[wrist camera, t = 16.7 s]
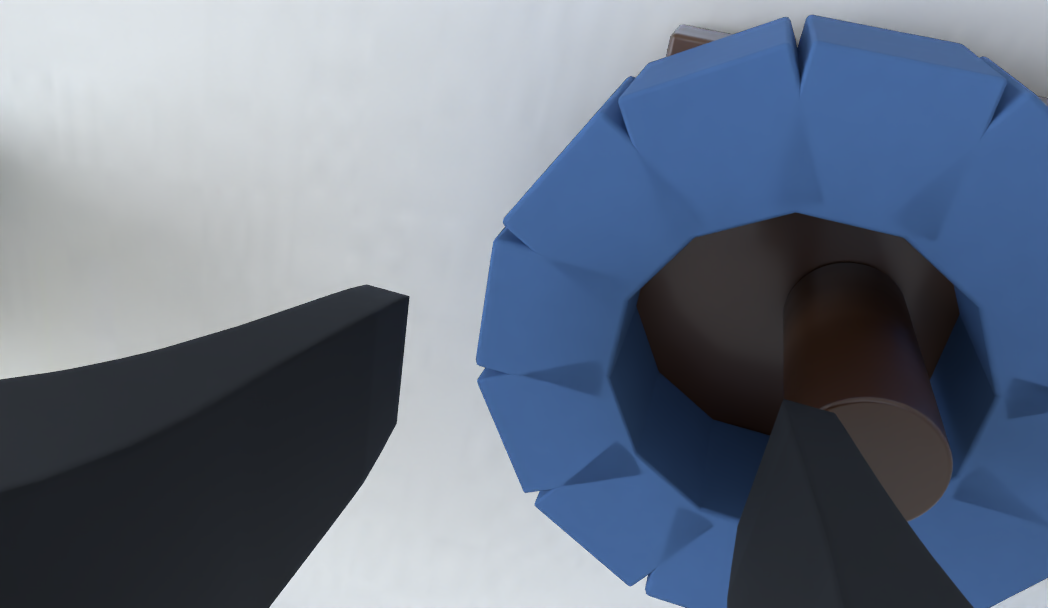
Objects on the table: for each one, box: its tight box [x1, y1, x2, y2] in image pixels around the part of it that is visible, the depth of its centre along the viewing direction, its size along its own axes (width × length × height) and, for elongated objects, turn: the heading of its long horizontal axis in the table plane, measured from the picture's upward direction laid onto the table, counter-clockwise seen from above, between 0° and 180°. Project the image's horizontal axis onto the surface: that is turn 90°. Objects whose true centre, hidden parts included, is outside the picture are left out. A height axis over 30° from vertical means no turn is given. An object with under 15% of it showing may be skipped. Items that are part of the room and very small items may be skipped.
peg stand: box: [636, 25, 1048, 522], centre depth 13 cm, size 8×8×6 cm
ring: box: [476, 15, 1048, 608], centre depth 14 cm, size 10×10×3 cm
